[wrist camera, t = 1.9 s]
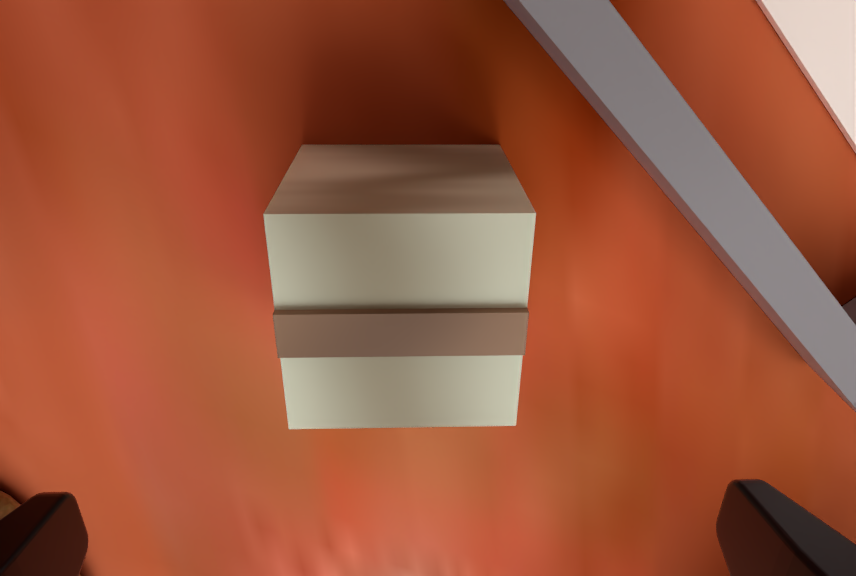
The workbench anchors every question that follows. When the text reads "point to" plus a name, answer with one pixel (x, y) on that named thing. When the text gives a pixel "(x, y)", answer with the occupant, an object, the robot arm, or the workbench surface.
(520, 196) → the cube
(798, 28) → the l-shaped corner bracket
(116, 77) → the workbench surface
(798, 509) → the robot arm
